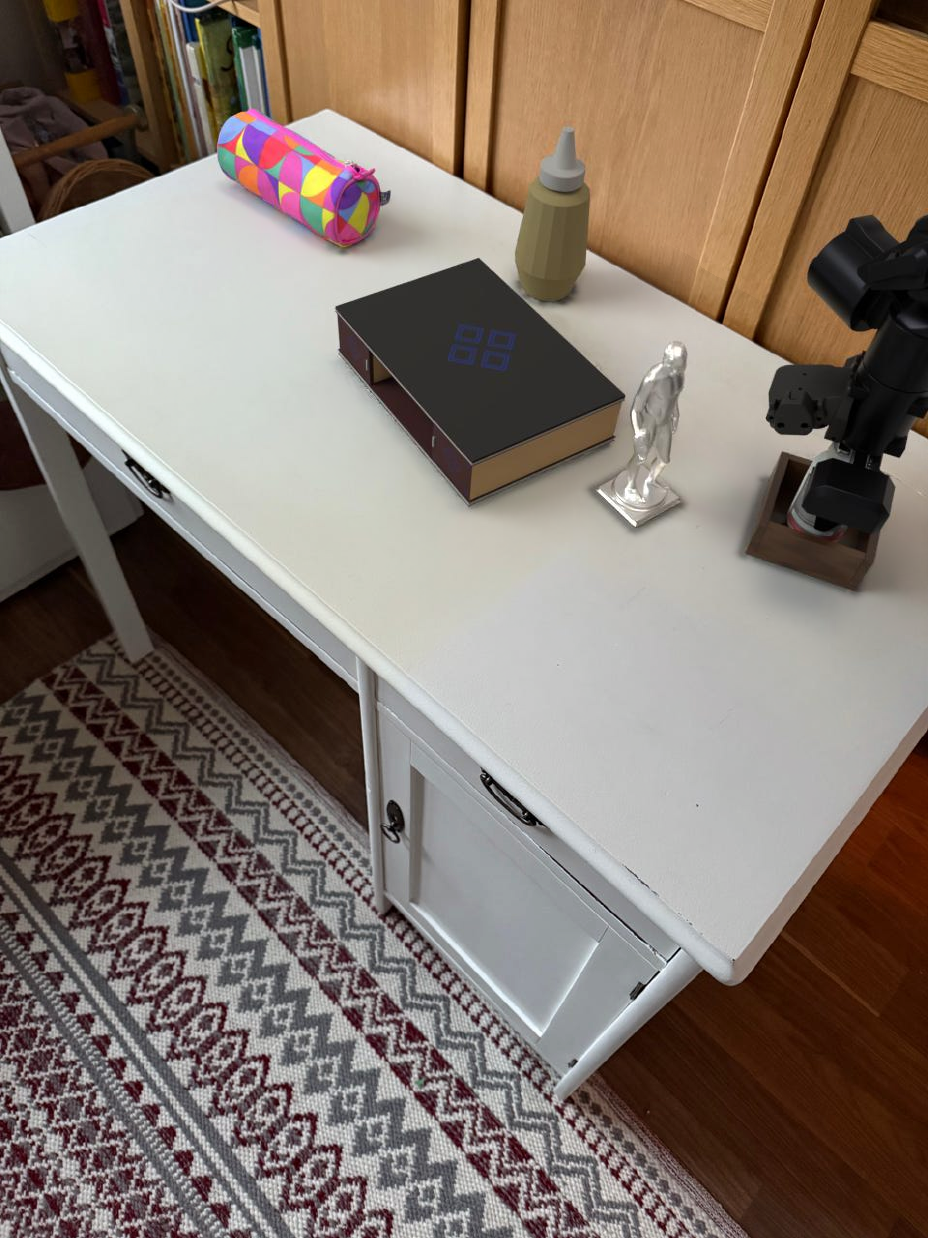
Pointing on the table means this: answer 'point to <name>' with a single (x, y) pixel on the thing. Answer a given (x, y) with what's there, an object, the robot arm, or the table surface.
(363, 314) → the book
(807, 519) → the pill bottle
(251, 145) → the pencil case
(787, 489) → the holder
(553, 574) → the table surface
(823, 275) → the robot arm
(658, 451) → the figurine
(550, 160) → the squeeze bottle
